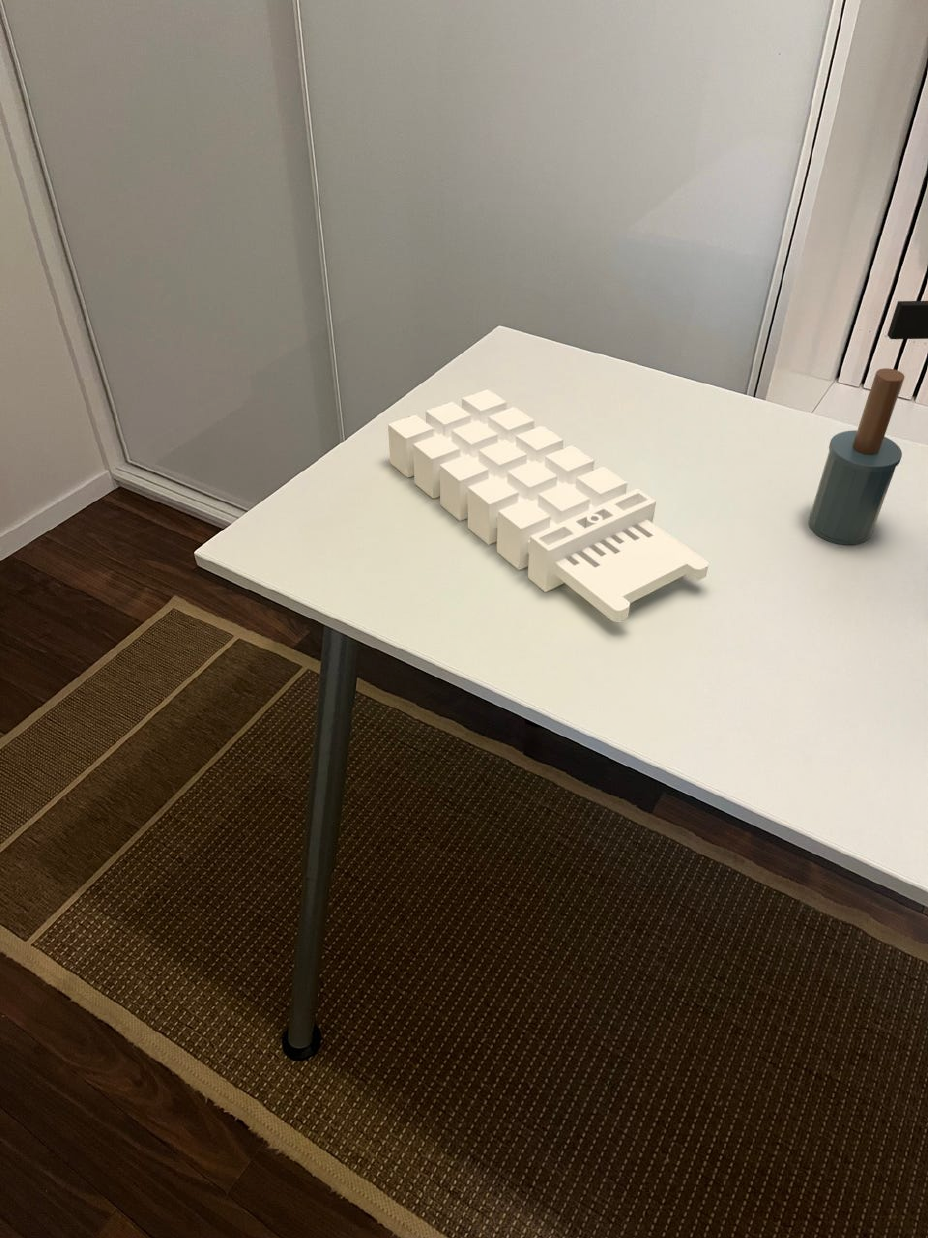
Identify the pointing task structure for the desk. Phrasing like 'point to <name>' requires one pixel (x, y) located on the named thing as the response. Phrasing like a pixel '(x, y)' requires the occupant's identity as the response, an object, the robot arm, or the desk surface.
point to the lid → (872, 429)
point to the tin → (848, 502)
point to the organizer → (541, 502)
